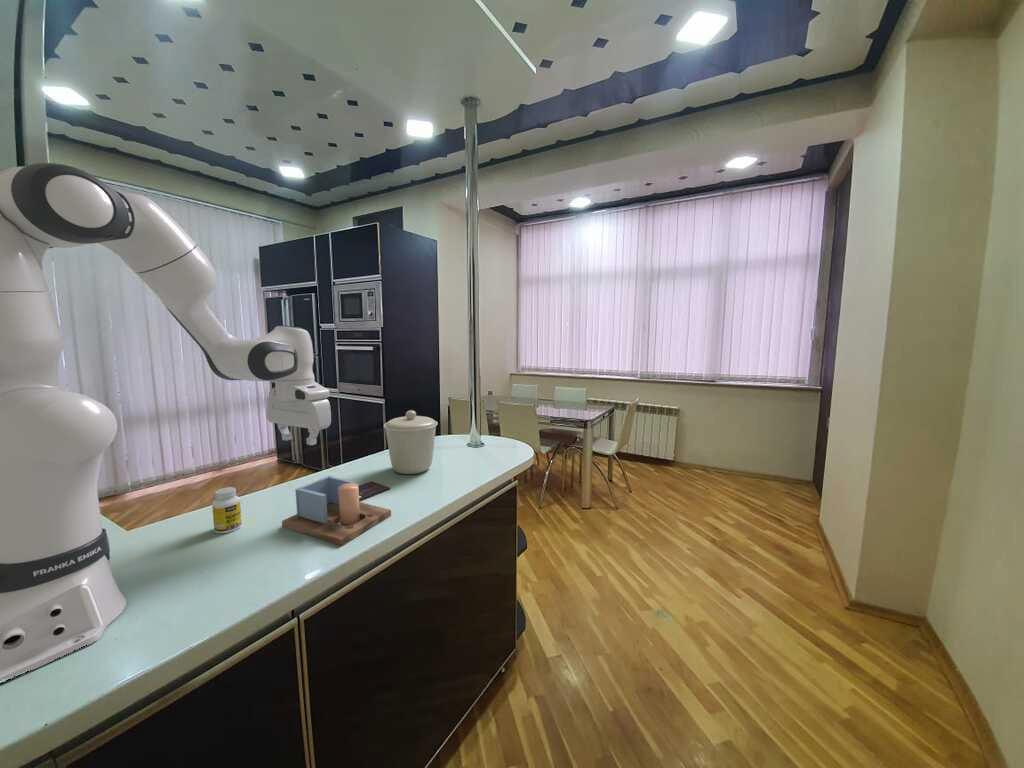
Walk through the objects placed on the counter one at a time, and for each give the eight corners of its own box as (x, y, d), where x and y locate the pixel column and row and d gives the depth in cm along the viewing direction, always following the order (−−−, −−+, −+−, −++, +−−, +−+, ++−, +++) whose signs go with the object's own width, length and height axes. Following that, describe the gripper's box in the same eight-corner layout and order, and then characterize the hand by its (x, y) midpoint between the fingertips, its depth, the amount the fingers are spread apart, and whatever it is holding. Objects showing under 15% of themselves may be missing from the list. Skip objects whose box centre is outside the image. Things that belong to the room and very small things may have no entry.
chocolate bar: (390, 487, 117) (334, 509, 103) (390, 490, 118) (335, 513, 103) (371, 481, 122) (316, 501, 108) (371, 483, 123) (316, 504, 108)
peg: (349, 530, 93) (347, 491, 92) (335, 526, 95) (333, 488, 93) (364, 522, 97) (362, 484, 96) (350, 518, 99) (348, 481, 98)
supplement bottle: (227, 535, 90) (223, 496, 89) (208, 532, 91) (204, 493, 90) (247, 524, 95) (244, 486, 94) (229, 522, 96) (226, 484, 95)
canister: (404, 458, 146) (403, 404, 143) (447, 464, 141) (446, 407, 138) (373, 475, 129) (371, 413, 126) (420, 482, 124) (419, 418, 121)
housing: (324, 523, 92) (322, 496, 91) (297, 515, 96) (295, 489, 95) (356, 506, 101) (355, 481, 100) (330, 500, 105) (329, 475, 104)
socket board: (342, 546, 86) (341, 539, 86) (282, 526, 94) (281, 520, 94) (391, 515, 101) (390, 509, 101) (335, 501, 109) (335, 495, 109)
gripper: (257, 388, 100) (261, 440, 102) (312, 394, 91) (315, 450, 93) (280, 385, 105) (284, 434, 107) (334, 391, 97) (336, 444, 99)
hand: (299, 442), depth 100 cm, fingers open, 8 cm apart
